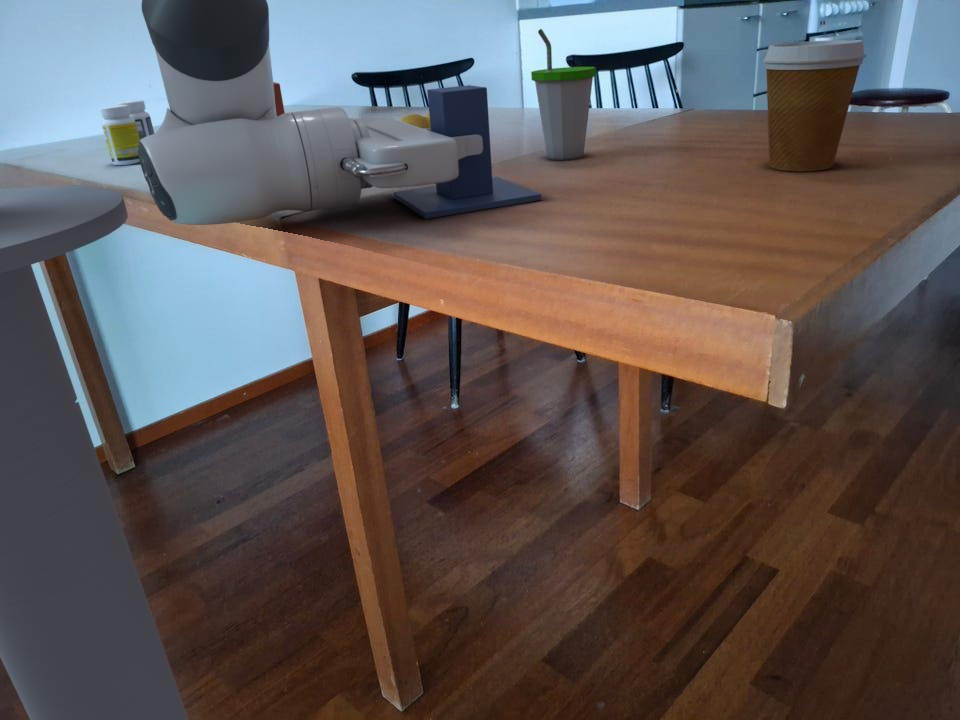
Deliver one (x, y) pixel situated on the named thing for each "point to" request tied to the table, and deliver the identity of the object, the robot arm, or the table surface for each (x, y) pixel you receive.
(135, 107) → the pill bottle
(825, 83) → the disposable coffee cup
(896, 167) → the table surface
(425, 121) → the bread roll
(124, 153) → the supplement bottle
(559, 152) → the cup
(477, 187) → the blue block
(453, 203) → the blue mat
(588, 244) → the table surface
